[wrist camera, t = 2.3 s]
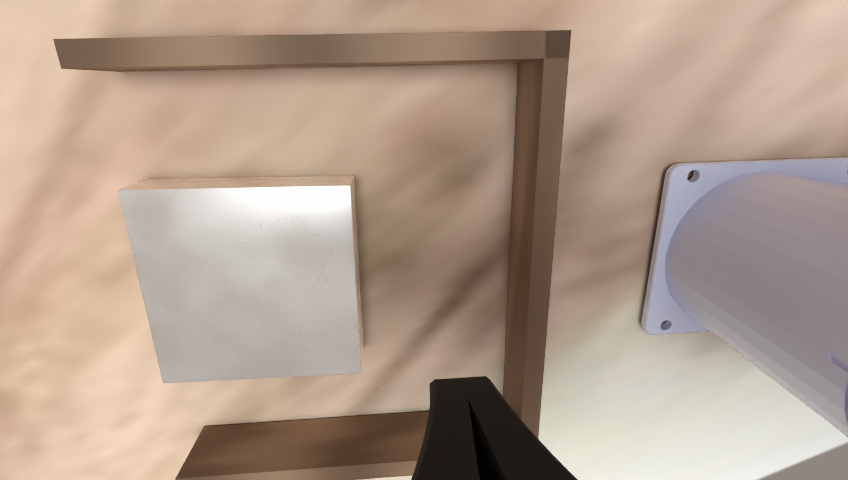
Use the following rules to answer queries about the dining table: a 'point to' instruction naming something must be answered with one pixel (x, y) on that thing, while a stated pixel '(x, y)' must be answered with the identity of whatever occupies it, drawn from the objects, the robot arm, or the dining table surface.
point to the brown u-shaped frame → (529, 238)
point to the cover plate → (248, 275)
